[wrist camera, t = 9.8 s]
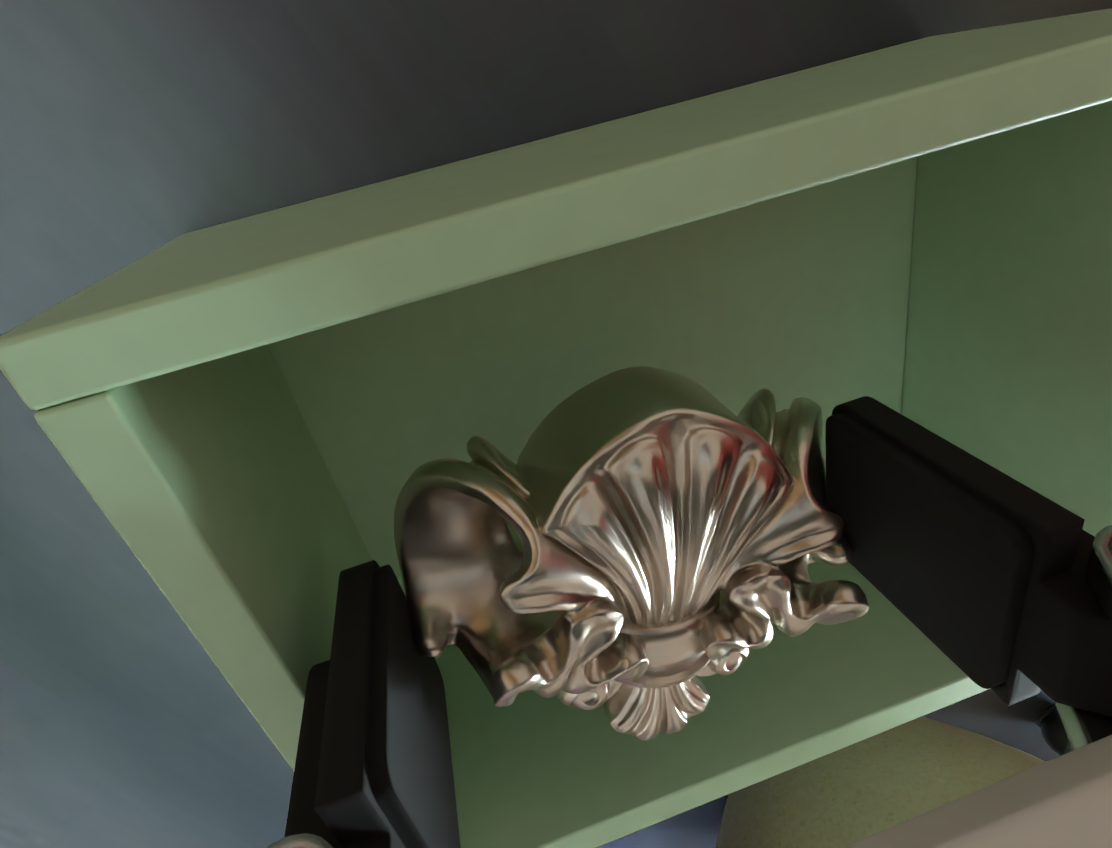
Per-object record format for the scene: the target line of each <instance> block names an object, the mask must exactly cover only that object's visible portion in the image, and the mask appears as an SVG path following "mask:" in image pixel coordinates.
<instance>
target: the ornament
mask: <svg viewBox="0 0 1112 848" xmlns="http://www.w3.org/2000/svg"><path fill="white" fill-rule="evenodd" d="M466 450H467V453H468V455H469V457H470V458H471V459H472V460H471V461H470V463H468V462H466V461H463V460H459V459H454V458H440V459H436V460H432V461H429V462H427V463H425V464H422V465H421V466H419V467H418V468H417V469H416V470H415V471H414V472H413V473H412V474H411V476H410V477H409V478H408V480H407V481H406V483H405V485H404V486H403V488H402V490H401V492H400V494H399V496H398V498H397V501H396V505H395V509H394V541H395V547H396V552H397V557H398V562H399V567H400V571H401V576H402V581H403V586H404V591H405V596H406V599H407V603H408V608H409V612H410V617H411V623H412V628H413V634H414V639H415V644H416V648H417V651H418V652H419V653H420V654H422V655H424V656H426V657H436V658H438V657H440V656H441V655H442V654H443V653H444V651H445V649H446V646H447V645H455V646H457V647H458V648H459V649H460V650H461V651H462V653H463V654H464V656H465V657H466V659H467V660H468V661H469V663H470V664H471V665H472V667H473V668H474V669H475V671H476V672H477V673H478V675H479V676H480V678H481V680H482V681H483V683H484V684H485V686H486V688H487V689H488V691H489V693H490V694H491V695H492V697H493V702H494V705H495V706H498V707H502V706H509V705H511V704H512V703H513V702H514V700H515V698H516V696H517V695H518V693H520V692H523V691H529V690H533V691H534V692H536V693H537V694H539V695H540V696H542V697H545V698H550V697H553V696H555V695H556V697H557V698H558V699H559V700H560V701H561V702H562V703H563V704H565V705H567V706H570V707H578V708H581V709H583V710H593V709H596V708H598V707H600V706H601V705H602V704H603V703H604V702H605V703H604V707H605V712H606V716H607V718H608V720H609V723H610V725H611V726H612V728H613V729H614V730H616V731H617V732H619V733H623V734H630V735H635V736H636V737H637V738H638V739H640V740H644V741H646V740H647V741H648V740H650V739H653V738H655V737H656V736H657V735H658V734H659V732H663V731H664V732H665V733H666V734H673V733H676V732H680V731H681V730H682V729H683V728H684V727H685V726H686V724H687V719H688V718H690V717H691V716H695V715H697V714H699V713H701V712H703V711H704V709H705V707H706V705H707V703H708V701H709V694H708V692H707V690H706V688H705V686H704V685H703V683H702V682H701V680H700V679H699V678H698V677H697V676H711V675H715V674H717V673H718V674H720V675H729V674H731V673H733V672H735V671H736V670H737V668H738V667H739V665H740V664H741V663H743V662H744V661H745V660H746V658H747V656H748V653H749V648H764V647H766V646H767V645H768V644H769V643H770V642H771V641H772V638H773V623H774V624H775V625H776V626H777V627H778V628H779V629H780V630H781V631H782V632H783V633H784V634H786V635H787V636H790V637H794V636H797V635H800V634H802V633H804V632H805V631H806V630H808V629H809V628H810V627H811V626H812V625H813V624H814V623H816V622H817V623H820V624H824V625H832V624H837V623H842V622H846V621H849V620H852V619H855V618H858V617H861V616H863V615H864V614H866V613H867V612H868V609H869V604H868V603H867V599H866V595H865V593H864V592H863V591H862V589H861V588H860V586H859V585H858V584H856V583H853V582H850V581H843V580H836V581H827V582H822V583H813V582H811V580H810V578H809V575H808V570H807V565H808V564H810V563H815V562H823V563H827V564H830V565H833V566H839V565H841V564H843V563H846V562H847V561H849V560H850V559H851V557H852V548H851V546H850V544H849V543H848V542H847V540H846V539H845V538H844V536H843V530H844V521H843V519H842V518H841V517H840V516H839V515H837V514H835V513H833V512H831V511H830V510H829V508H828V506H827V503H826V471H825V454H824V441H823V422H822V411H821V407H820V406H819V405H818V404H817V403H815V402H814V401H812V400H811V399H808V398H805V397H800V398H796V399H794V400H793V401H792V402H791V406H790V409H783V410H782V411H779V412H776V400H775V396H774V394H773V393H772V392H771V391H770V390H769V389H766V388H763V389H760V390H758V391H757V392H755V393H754V394H753V395H752V396H751V398H750V399H749V400H748V402H747V403H746V405H745V406H744V407H743V408H742V410H741V411H740V413H739V414H738V416H736V415H735V414H734V413H733V412H732V411H731V410H729V409H728V408H727V407H726V406H725V405H723V404H722V403H721V402H720V401H719V400H718V399H717V398H716V397H714V396H713V395H712V394H711V393H710V392H709V391H707V390H706V389H705V388H704V387H702V386H701V385H699V384H698V383H696V382H695V381H693V380H691V379H689V378H687V377H685V376H682V375H680V374H677V373H674V372H671V371H667V370H663V369H658V368H653V367H647V366H638V367H630V368H624V369H620V370H617V371H614V372H612V373H609V374H607V375H605V376H603V377H601V378H599V379H597V380H595V381H593V382H591V383H590V384H588V385H586V386H584V387H583V388H581V389H579V390H578V391H576V392H575V393H573V394H572V395H571V396H569V397H568V398H566V399H565V400H564V401H562V402H561V403H560V404H559V405H557V406H556V407H555V408H554V409H553V410H552V411H551V412H550V413H549V414H548V415H547V416H546V417H545V418H544V419H543V420H542V421H541V423H540V424H539V425H538V427H537V428H536V429H535V431H534V432H533V433H532V435H531V436H530V438H529V439H528V441H527V443H526V445H525V447H524V449H523V450H522V452H521V453H520V456H519V458H518V460H517V462H518V464H515V463H514V462H513V461H512V460H510V459H509V458H508V457H507V456H506V455H504V454H503V453H502V452H500V451H499V450H498V449H497V448H496V447H495V446H494V445H493V444H491V443H490V442H488V441H487V440H485V439H484V438H482V437H480V436H473V437H471V438H470V439H469V440H468V442H467V445H466ZM696 675H697V676H696Z"/></svg>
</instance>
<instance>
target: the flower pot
mask: <svg viewBox="0 0 1112 848" xmlns="http://www.w3.org/2000/svg"><path fill="white" fill-rule="evenodd" d="M1042 763H1045V761H1043V760H1041V759H1039V758H1037V757H1035V756H1033V755H1030V754H1028V753H1026V752H1023V751H1021V750H1018V749H1016V748H1013V747H1011V746H1008V745H1006V744H1004V743H1001V742H999V741H996V740H993V739H991V738H988V737H986V736H983V735H980V734H977V733H974V732H971V731H968V730H965V729H962V728H959V727H956V726H953V725H949V724H946V723H943V722H940V721H936V720H932V719H929V718H925V717H919V718H916V719H914V720H911V721H909V722H906V723H904V724H901V725H899V726H896V727H894V728H891V729H889V730H887V731H884V732H882V733H879V734H877V735H874V736H872V737H869V738H867V739H864V740H862V741H859V742H857V743H854V744H852V745H849V746H847V747H844V748H842V749H839V750H837V751H835V752H832V753H830V754H827V755H825V756H822V757H820V758H817V759H815V760H812V761H810V762H807V763H805V764H802V765H800V766H797V767H795V768H792V769H790V770H787V771H785V772H782V773H780V774H778V775H775V776H773V777H770V778H768V779H765V780H763V781H760V782H758V783H755V784H753V785H750V786H748V787H745V788H743V789H740V790H738V791H735V792H733V793H730V794H728V797H727V800H726V803H725V807H724V810H723V815H722V820H721V825H720V829H719V834H718V839H717V844H716V848H843V847H845V846H847V845H850V844H852V843H855V842H857V841H859V840H862V839H864V838H866V837H869V836H871V835H873V834H876V833H878V832H880V831H883V830H885V829H888V828H890V827H892V826H895V825H897V824H899V823H902V822H904V821H907V820H909V819H911V818H914V817H916V816H918V815H921V814H923V813H925V812H928V811H930V810H933V809H935V808H937V807H940V806H942V805H944V804H947V803H949V802H952V801H954V800H956V799H959V798H961V797H963V796H966V795H968V794H970V793H973V792H975V791H978V790H980V789H982V788H985V787H987V786H990V785H992V784H994V783H997V782H999V781H1002V780H1004V779H1006V778H1009V777H1011V776H1014V775H1016V774H1018V773H1021V772H1023V771H1026V770H1028V769H1030V768H1033V767H1035V766H1038V765H1040V764H1042Z"/></svg>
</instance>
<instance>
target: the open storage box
mask: <svg viewBox="0 0 1112 848" xmlns="http://www.w3.org/2000/svg"><path fill="white" fill-rule="evenodd" d="M638 366H647V367H653V368H658V369H663V370H667V371H671V372H674V373H677V374H680V375H682V376H685V377H687V378H689V379H691V380H693V381H695V382H696V383H698V384H699V385H701V386H702V387H704V388H705V389H706V390H707V391H709V392H710V393H711V394H712V395H713V396H714V397H716V398H717V399H718V400H719V401H720V402H721V403H722V404H723V405H725V406H726V407H727V408H728V409H729V410H731V411H732V412H733V413H734V414H735V415H736V416H738V414H739V413H740V411H741V410H742V408H743V407H744V406H745V405H746V403H747V402H748V400H749V399H750V398H751V396H752V395H753V394H754V393H755V392H757V391H758V390H760V389H763V388H766V389H769V390H770V391H771V392H772V393H773V394H774V396H775V400H776V412H779V411H782V410H783V409H790V406H791V402H792V401H793V400H794V399H796V398H800V397H805V398H808V399H811V400H812V401H814V402H815V403H817V404H818V405H819V406H820V407H821V411H822V422H823V441H824V454H825V471H826V420H827V418H828V417H829V416H831V415H832V411H833V409H834V407H836V406H837V405H839V404H842V403H845V402H848V401H851V400H854V399H857V398H860V397H863V396H869V397H872V398H874V399H876V400H877V401H879V402H881V403H883V404H884V405H886V406H888V407H889V408H891V409H893V410H895V411H896V412H898V413H900V414H902V415H903V416H905V417H907V418H909V419H910V420H912V421H914V422H916V423H917V424H919V425H921V426H923V427H924V428H926V429H928V430H930V431H931V432H933V433H935V434H937V435H938V436H940V437H942V438H944V439H945V440H947V441H949V442H950V443H952V444H954V445H956V446H957V447H959V448H961V449H963V450H964V451H966V452H968V453H970V454H971V455H973V456H975V457H977V458H978V459H980V460H982V461H984V462H985V463H987V464H989V465H991V466H992V467H994V468H996V469H998V470H999V471H1001V472H1003V473H1004V474H1006V475H1008V476H1010V477H1011V478H1013V479H1015V480H1017V481H1018V482H1020V483H1022V484H1024V485H1025V486H1027V487H1029V488H1031V489H1032V490H1034V491H1036V492H1038V493H1039V494H1041V495H1043V496H1045V497H1046V498H1048V499H1050V500H1052V501H1053V502H1055V503H1057V504H1059V505H1060V506H1062V507H1064V508H1065V509H1067V510H1069V511H1071V512H1072V513H1074V514H1076V515H1078V516H1079V517H1081V518H1083V519H1085V521H1084V525H1083V530H1084V531H1086V532H1088V533H1089V534H1091V535H1093V536H1096V534H1097V533H1098V532H1099V531H1100V530H1102V529H1103V528H1105V527H1106V526H1109V525H1112V8H1111V9H1104V10H1098V11H1091V12H1085V13H1078V14H1072V15H1066V16H1059V17H1053V18H1046V19H1040V20H1033V21H1027V22H1021V23H1014V24H1008V25H1001V26H995V27H988V28H982V29H976V30H969V31H963V32H957V33H949V34H943V35H936V36H930V37H925V38H922V39H918V40H914V41H910V42H907V43H903V44H899V45H895V46H891V47H888V48H884V49H880V50H876V51H873V52H869V53H865V54H861V55H857V56H854V57H850V58H846V59H842V60H839V61H835V62H831V63H827V64H823V65H820V66H816V67H812V68H808V69H805V70H801V71H797V72H793V73H789V74H786V75H782V76H778V77H774V78H771V79H767V80H763V81H759V82H755V83H752V84H748V85H744V86H740V87H737V88H733V89H729V90H725V91H721V92H718V93H714V94H710V95H706V96H703V97H699V98H695V99H691V100H687V101H684V102H680V103H676V104H672V105H669V106H665V107H661V108H657V109H653V110H650V111H646V112H642V113H638V114H635V115H631V116H627V117H623V118H619V119H616V120H612V121H608V122H604V123H601V124H597V125H593V126H589V127H585V128H582V129H578V130H574V131H570V132H567V133H563V134H559V135H555V136H551V137H548V138H544V139H540V140H536V141H533V142H529V143H525V144H521V145H517V146H514V147H510V148H506V149H502V150H499V151H495V152H491V153H487V154H483V155H480V156H476V157H472V158H468V159H465V160H461V161H457V162H453V163H449V164H446V165H442V166H438V167H434V168H431V169H427V170H423V171H419V172H415V173H412V174H408V175H404V176H400V177H397V178H393V179H389V180H385V181H381V182H378V183H374V184H370V185H366V186H363V187H359V188H355V189H351V190H347V191H344V192H340V193H336V194H332V195H329V196H325V197H321V198H317V199H313V200H310V201H306V202H302V203H298V204H295V205H291V206H287V207H283V208H279V209H276V210H272V211H268V212H264V213H261V214H257V215H253V216H249V217H245V218H242V219H238V220H234V221H230V222H227V223H223V224H219V225H215V226H211V227H208V228H204V229H200V230H196V231H193V232H189V233H185V234H183V235H181V236H179V237H177V238H175V239H173V240H172V241H170V242H169V243H167V244H165V245H163V246H161V247H160V248H158V249H156V250H154V251H152V252H151V253H149V254H147V255H145V256H143V257H142V258H140V259H138V260H136V261H134V262H133V263H131V264H129V265H127V266H125V267H124V268H122V269H120V270H118V271H116V272H115V273H113V274H111V275H109V276H107V277H106V278H104V279H102V280H100V281H98V282H97V283H95V284H93V285H91V286H89V287H87V288H86V289H84V290H82V291H80V292H78V293H77V294H75V295H73V296H71V297H69V298H68V299H66V300H64V301H62V302H60V303H59V304H57V305H55V306H53V307H51V308H50V309H48V310H46V311H44V312H42V313H41V314H39V315H37V316H35V317H33V318H32V319H30V320H28V321H26V322H24V323H23V324H21V325H19V326H17V327H15V328H14V329H12V330H10V331H8V332H6V333H5V334H3V335H1V336H0V370H1V371H2V373H3V374H4V376H5V377H6V378H7V380H8V381H9V382H10V384H11V385H12V386H13V388H14V389H15V391H16V392H17V393H18V395H19V396H20V397H21V399H22V400H23V401H24V403H25V404H26V406H27V407H29V408H30V409H32V410H39V411H38V412H36V413H35V414H34V418H35V420H36V421H37V423H38V424H39V426H40V427H41V428H42V430H43V431H44V432H45V434H46V435H47V436H48V438H49V439H50V440H51V442H52V443H53V445H54V446H55V447H56V449H57V450H58V451H59V453H60V454H61V455H62V457H63V458H64V460H65V461H66V462H67V464H68V465H69V466H70V468H71V469H72V470H73V472H74V473H75V474H76V476H77V477H78V479H79V480H80V481H81V483H82V484H83V485H84V487H85V488H86V489H87V491H88V492H89V494H90V495H91V496H92V498H93V499H94V500H95V502H96V503H97V504H98V506H99V507H100V509H101V510H102V511H103V513H104V514H105V515H106V517H107V518H108V519H109V521H110V522H111V523H112V525H113V526H114V528H115V529H116V530H117V532H118V533H119V534H120V536H121V537H122V538H123V540H124V541H125V543H126V544H127V545H128V547H129V548H130V549H131V551H132V552H133V553H134V555H135V556H136V558H137V559H138V560H139V562H140V563H141V564H142V566H143V567H144V568H145V570H146V571H147V572H148V574H149V575H150V577H151V578H152V579H153V581H154V582H155V583H156V585H157V586H158V587H159V589H160V590H161V592H162V593H163V594H164V596H165V597H166V598H167V600H168V601H169V602H170V604H171V605H172V606H173V608H174V609H175V611H176V612H177V613H178V615H179V616H180V617H181V619H182V620H183V621H184V623H185V624H186V626H187V627H188V628H189V630H190V631H191V632H192V634H193V635H194V636H195V638H196V639H197V641H198V642H199V643H200V645H201V646H202V647H203V649H204V650H205V651H206V653H207V654H208V655H209V657H210V658H211V660H212V661H213V662H214V664H215V665H216V666H217V668H218V669H219V670H220V672H221V673H222V675H223V676H224V677H225V679H226V680H227V681H228V683H229V684H230V685H231V687H232V688H233V690H234V691H235V692H236V694H237V695H238V696H239V698H240V699H241V700H242V702H243V703H244V704H245V706H246V707H247V709H248V710H249V711H250V713H251V714H252V715H253V717H254V718H255V719H256V721H257V722H258V724H259V725H260V726H261V728H262V729H263V730H264V732H265V733H266V734H267V736H268V737H269V738H270V740H271V741H272V743H273V744H274V745H275V747H276V748H277V749H278V751H279V752H280V753H281V755H282V756H283V758H284V759H285V760H286V762H287V763H288V764H289V766H290V767H291V768H292V770H293V771H294V769H295V762H296V755H297V748H298V742H299V735H300V728H301V721H302V714H303V707H304V700H305V693H306V686H307V679H308V675H309V671H310V669H311V668H312V667H313V665H316V664H319V663H322V662H324V661H327V660H330V656H331V647H332V637H333V628H334V619H335V609H336V600H337V591H338V581H339V575H340V572H341V571H342V570H345V569H348V568H351V567H354V566H357V565H360V564H363V563H366V562H369V561H372V560H375V561H376V562H377V563H378V564H379V566H380V567H381V566H384V565H387V564H389V565H390V566H391V567H392V569H393V571H394V573H395V575H396V577H397V579H398V581H399V583H400V586H401V588H402V590H403V592H404V594H405V591H404V586H403V581H402V576H401V571H400V567H399V562H398V557H397V552H396V547H395V541H394V509H395V505H396V501H397V498H398V496H399V494H400V492H401V490H402V488H403V486H404V485H405V483H406V481H407V480H408V478H409V477H410V476H411V474H412V473H413V472H414V471H415V470H416V469H417V468H418V467H419V466H421V465H422V464H425V463H427V462H429V461H432V460H436V459H440V458H454V459H459V460H463V461H466V462H468V463H470V461H471V460H472V459H471V458H470V457H469V455H468V453H467V450H466V445H467V442H468V440H469V439H470V438H471V437H473V436H480V437H482V438H484V439H485V440H487V441H488V442H490V443H491V444H493V445H494V446H495V447H496V448H497V449H498V450H499V451H500V452H502V453H503V454H504V455H506V456H507V457H508V458H509V459H510V460H512V461H513V462H514V463H515V464H518V462H517V460H518V458H519V456H520V453H521V452H522V450H523V449H524V447H525V445H526V443H527V441H528V439H529V438H530V436H531V435H532V433H533V432H534V431H535V429H536V428H537V427H538V425H539V424H540V423H541V421H542V420H543V419H544V418H545V417H546V416H547V415H548V414H549V413H550V412H551V411H552V410H553V409H554V408H555V407H556V406H557V405H559V404H560V403H561V402H562V401H564V400H565V399H566V398H568V397H569V396H571V395H572V394H573V393H575V392H576V391H578V390H579V389H581V388H583V387H584V386H586V385H588V384H590V383H591V382H593V381H595V380H597V379H599V378H601V377H603V376H605V375H607V374H609V373H612V372H614V371H617V370H620V369H624V368H630V367H638ZM807 570H808V575H809V578H810V580H811V582H813V583H822V582H827V581H836V580H843V581H850V582H853V583H856V584H858V585H859V586H860V588H861V589H862V591H863V592H864V593H865V595H866V599H867V603H868V604H869V609H868V612H867V613H866V614H864V615H863V616H861V617H858V618H855V619H852V620H849V621H846V622H842V623H837V624H832V625H824V624H820V623H817V622H816V623H814V624H813V625H812V626H811V627H810V628H809V629H808V630H806V631H805V632H804V633H802V634H800V635H797V636H794V637H790V636H787V635H786V634H784V633H783V632H782V631H781V630H780V629H779V628H778V627H777V626H776V625H775V624H774V623H773V638H772V641H771V642H770V643H769V644H768V645H767V646H766V647H764V648H749V653H748V656H747V658H746V660H745V661H744V662H743V663H741V664H740V665H739V667H738V668H737V670H736V671H735V672H733V673H731V674H729V675H720V674H718V673H717V674H715V675H711V676H697V675H696V676H697V677H698V678H699V679H700V680H701V682H702V683H703V685H704V686H705V688H706V690H707V692H708V694H709V701H708V703H707V705H706V707H705V709H704V711H703V712H701V713H699V714H697V715H695V716H691V717H690V718H688V719H687V724H686V726H685V727H684V728H683V729H682V730H681V731H680V732H676V733H673V734H666V733H665V732H664V731H663V732H659V734H658V735H657V736H656V737H655V738H653V739H650V740H648V741H647V740H646V741H644V740H640V739H638V738H637V737H636V736H635V735H630V734H623V733H619V732H617V731H616V730H614V729H613V728H612V726H611V725H610V723H609V720H608V718H607V716H606V712H605V707H604V703H605V702H604V703H603V704H602V705H601V706H600V707H598V708H596V709H593V710H583V709H581V708H578V707H570V706H567V705H565V704H563V703H562V702H561V701H560V700H559V699H558V698H557V697H556V695H555V696H553V697H550V698H545V697H542V696H540V695H539V694H537V693H536V692H534V691H533V690H529V691H523V692H520V693H518V695H517V696H516V698H515V700H514V702H513V703H512V704H511V705H509V706H502V707H498V706H495V705H494V702H493V697H492V695H491V694H490V693H489V691H488V689H487V688H486V686H485V684H484V683H483V681H482V680H481V678H480V676H479V675H478V673H477V672H476V671H475V669H474V668H473V667H472V665H471V664H470V663H469V661H468V660H467V659H466V657H465V656H464V654H463V653H462V651H461V650H460V649H459V648H458V647H457V646H455V645H447V646H446V649H445V651H444V653H443V654H442V655H441V656H440V657H438V658H436V657H434V658H435V660H436V662H437V665H438V667H439V669H440V672H441V675H442V678H443V682H444V688H445V696H446V706H447V716H448V727H449V737H450V747H451V757H452V767H453V777H454V787H455V797H456V807H457V817H458V827H459V837H460V847H461V848H597V847H599V846H602V845H604V844H607V843H609V842H612V841H614V840H616V839H619V838H621V837H624V836H626V835H629V834H631V833H634V832H636V831H639V830H641V829H644V828H646V827H649V826H651V825H654V824H656V823H659V822H661V821H664V820H666V819H669V818H671V817H673V816H676V815H678V814H681V813H683V812H686V811H688V810H691V809H693V808H696V807H698V806H701V805H703V804H706V803H708V802H711V801H713V800H716V799H718V798H721V797H723V796H725V795H728V794H730V793H733V792H735V791H738V790H740V789H743V788H745V787H748V786H750V785H753V784H755V783H758V782H760V781H763V780H765V779H768V778H770V777H773V776H775V775H778V774H780V773H782V772H785V771H787V770H790V769H792V768H795V767H797V766H800V765H802V764H805V763H807V762H810V761H812V760H815V759H817V758H820V757H822V756H825V755H827V754H830V753H832V752H835V751H837V750H839V749H842V748H844V747H847V746H849V745H852V744H854V743H857V742H859V741H862V740H864V739H867V738H869V737H872V736H874V735H877V734H879V733H882V732H884V731H887V730H889V729H891V728H894V727H896V726H899V725H901V724H904V723H906V722H909V721H911V720H914V719H916V718H919V717H921V716H924V715H926V714H929V713H931V712H934V711H936V710H939V709H941V708H944V707H946V706H948V705H951V704H953V703H956V702H958V701H961V700H963V699H966V698H968V697H971V696H973V695H976V694H978V693H981V692H983V691H986V690H988V689H984V688H982V687H980V686H978V685H977V684H976V683H974V682H973V681H972V680H971V679H970V678H969V677H968V676H967V675H966V674H965V673H964V672H963V671H962V670H961V669H960V668H959V667H958V666H957V665H956V664H954V663H953V662H952V661H951V660H950V659H949V658H948V657H947V656H946V655H945V654H944V653H943V652H942V651H941V650H940V649H939V648H938V647H937V646H936V645H935V644H934V643H933V642H932V641H931V640H929V639H928V638H927V637H926V636H925V635H924V634H923V633H922V632H921V631H920V630H919V629H918V628H917V627H916V626H915V625H914V624H913V623H912V622H911V621H910V620H909V619H908V618H907V617H906V616H905V615H903V614H902V613H901V612H900V611H899V610H898V609H897V608H896V607H895V606H894V605H893V604H892V603H891V602H890V601H889V600H888V599H887V598H886V597H885V596H884V595H883V594H882V593H881V592H880V591H878V590H877V589H876V588H875V587H874V586H873V585H872V584H871V583H870V582H869V581H868V580H867V579H866V578H865V577H864V576H863V575H862V574H861V573H860V572H859V571H858V570H857V569H856V568H855V567H854V566H852V565H851V564H850V563H849V562H848V561H847V562H846V563H843V564H841V565H839V566H833V565H830V564H827V563H823V562H815V563H810V564H808V565H807ZM989 689H991V688H989Z"/></svg>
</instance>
